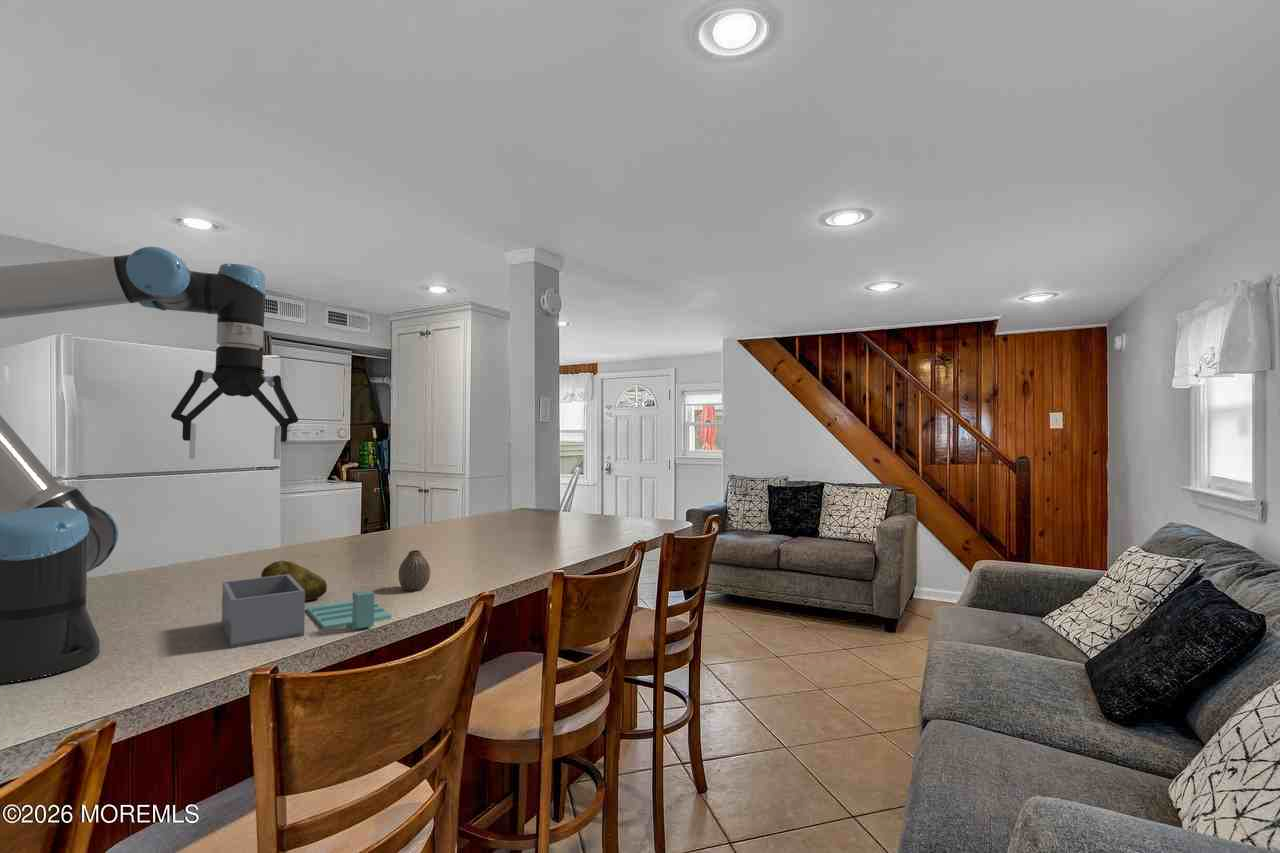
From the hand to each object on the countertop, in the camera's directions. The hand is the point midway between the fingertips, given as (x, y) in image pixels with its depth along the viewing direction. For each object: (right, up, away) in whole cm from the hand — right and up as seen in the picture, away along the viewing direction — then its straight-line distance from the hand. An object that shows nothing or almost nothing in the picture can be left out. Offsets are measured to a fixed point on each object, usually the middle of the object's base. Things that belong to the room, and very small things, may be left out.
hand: (235, 459), depth 118 cm
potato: (+3, -31, +15) cm, 35 cm away
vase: (+25, -32, +25) cm, 47 cm away
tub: (+8, -31, -5) cm, 32 cm away
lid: (+20, -31, +4) cm, 37 cm away
